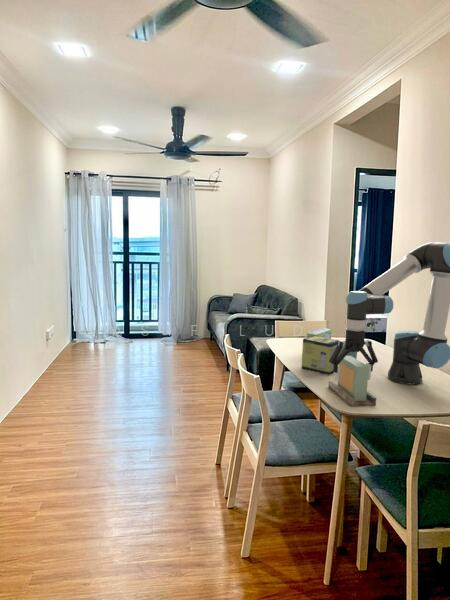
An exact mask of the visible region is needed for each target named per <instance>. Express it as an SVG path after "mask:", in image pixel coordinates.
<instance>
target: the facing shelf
mask: <svg viewBox="0 0 450 600" xmlns="http://www.w3.org/2000/svg"><path fill="white" fill-rule="evenodd" d="M328 388H329V389H330V390H331V392H333V393H334V392H335V394H336V395H337V396H338V397H339V399H341V400H342V401H344V402H345V403H346V404H347V405H348V406H350V407H370V406H371V407H374V406H375V407H376V405H377V398H376V397H375V396H374V395H373V394H371V393H370V392H368V391H367V397H366V401H354V398H352V397H351V396H350V395H349V394H347V393H346V392H345V391H344V390H342V389H341V388H340V387H339V386H338V384H336V383H335V382H334V381H332V380H329V381H328Z"/></svg>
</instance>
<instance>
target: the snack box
mask: <svg viewBox="0 0 450 600" xmlns="http://www.w3.org/2000/svg"><path fill="white" fill-rule="evenodd" d="M332 332H333V331H332V329H331V328H326V327H322V328H319V329H317V330H316V329H315V330H313V331H309V332H307V333H306V338H308V337H311V336H316V337H322V338H328V339H332Z"/></svg>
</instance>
